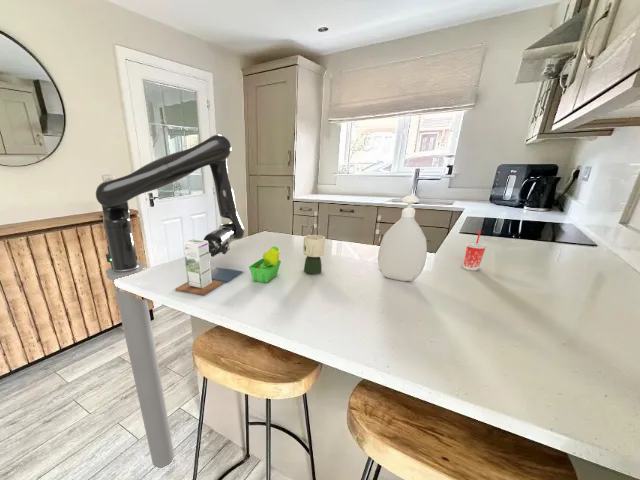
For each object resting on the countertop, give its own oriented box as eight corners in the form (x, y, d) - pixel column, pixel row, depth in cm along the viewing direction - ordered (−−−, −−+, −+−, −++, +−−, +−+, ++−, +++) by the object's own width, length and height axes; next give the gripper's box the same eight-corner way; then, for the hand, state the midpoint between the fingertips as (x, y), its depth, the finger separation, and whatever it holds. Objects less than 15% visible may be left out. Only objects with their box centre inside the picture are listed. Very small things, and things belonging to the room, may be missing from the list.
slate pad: (200, 278, 108) (200, 276, 107) (217, 268, 117) (217, 267, 117) (227, 282, 103) (227, 281, 103) (242, 272, 112) (242, 271, 112)
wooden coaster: (175, 290, 98) (175, 288, 98) (196, 278, 107) (195, 277, 107) (204, 295, 94) (203, 293, 93) (223, 283, 103) (222, 281, 102)
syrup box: (212, 283, 102) (208, 240, 96) (201, 289, 97) (197, 244, 91) (198, 280, 104) (194, 238, 98) (187, 286, 99) (182, 242, 94)
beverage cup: (465, 264, 115) (475, 227, 109) (484, 268, 110) (494, 230, 105) (456, 267, 112) (466, 229, 107) (475, 272, 107) (485, 232, 102)
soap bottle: (424, 278, 103) (441, 194, 92) (419, 285, 97) (436, 197, 86) (379, 270, 111) (390, 192, 101) (372, 277, 105) (383, 195, 95)
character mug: (306, 267, 116) (307, 233, 111) (325, 268, 114) (327, 234, 109) (299, 276, 107) (300, 240, 102) (319, 278, 105) (321, 241, 100)
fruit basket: (262, 271, 113) (262, 241, 109) (284, 274, 110) (285, 243, 105) (248, 281, 104) (247, 249, 99) (272, 285, 100) (272, 251, 96)
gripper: (198, 230, 113) (177, 240, 98) (235, 231, 109) (219, 242, 95) (200, 250, 116) (180, 263, 101) (236, 251, 112) (220, 265, 98)
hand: (199, 253), depth 98 cm, fingers open, 8 cm apart
